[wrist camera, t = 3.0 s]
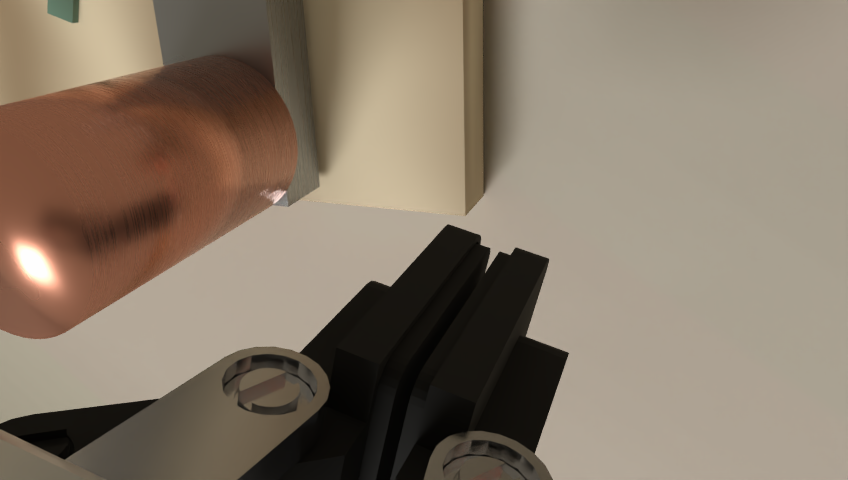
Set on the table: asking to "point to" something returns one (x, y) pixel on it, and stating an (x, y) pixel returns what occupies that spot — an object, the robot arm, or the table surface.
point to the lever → (152, 160)
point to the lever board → (330, 86)
